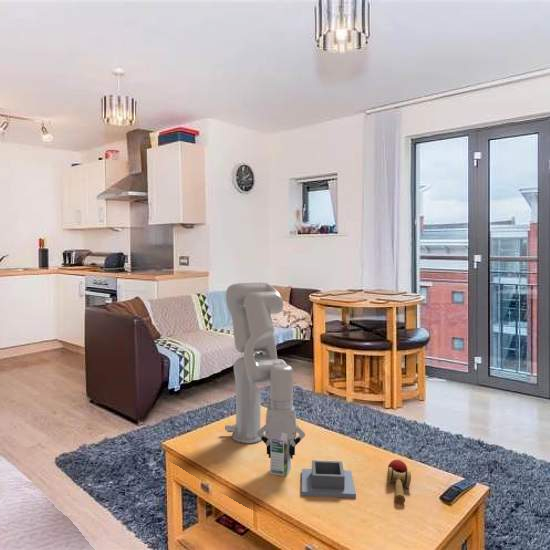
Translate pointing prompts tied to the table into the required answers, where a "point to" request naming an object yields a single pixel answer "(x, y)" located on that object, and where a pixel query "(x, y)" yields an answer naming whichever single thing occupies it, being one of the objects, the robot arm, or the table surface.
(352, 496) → the socket board
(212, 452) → the table surface
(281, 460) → the syrup box
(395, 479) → the kendama
